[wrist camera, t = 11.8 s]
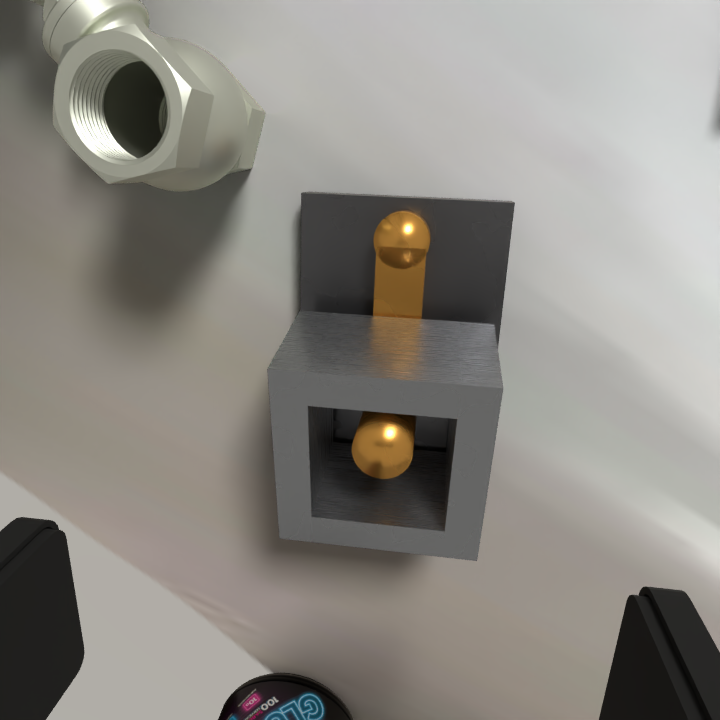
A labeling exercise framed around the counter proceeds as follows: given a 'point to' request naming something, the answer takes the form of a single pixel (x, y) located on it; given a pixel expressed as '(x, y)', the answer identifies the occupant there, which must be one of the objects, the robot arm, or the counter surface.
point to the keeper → (402, 289)
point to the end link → (388, 395)
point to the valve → (145, 99)
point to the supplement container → (284, 700)
